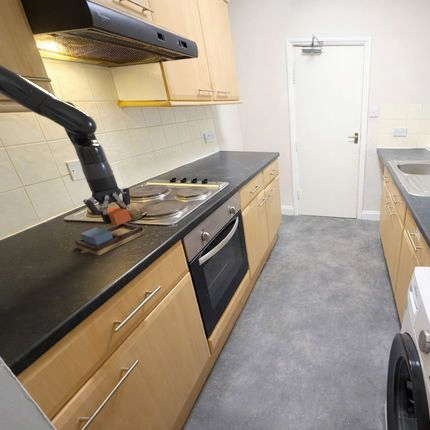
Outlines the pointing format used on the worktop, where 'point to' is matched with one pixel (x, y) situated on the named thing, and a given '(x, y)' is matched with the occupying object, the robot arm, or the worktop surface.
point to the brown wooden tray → (119, 235)
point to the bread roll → (135, 210)
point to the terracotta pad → (118, 215)
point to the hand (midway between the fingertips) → (117, 219)
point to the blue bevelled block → (96, 236)
